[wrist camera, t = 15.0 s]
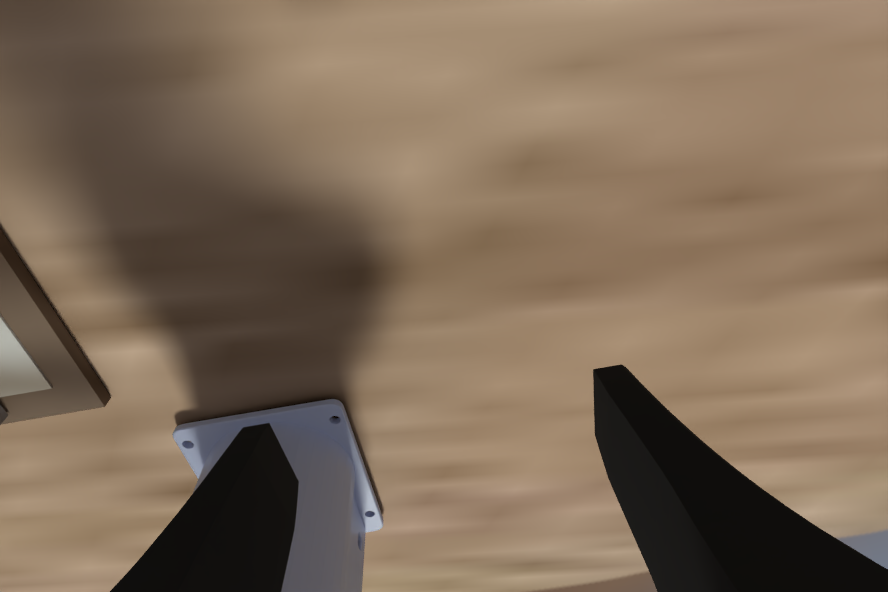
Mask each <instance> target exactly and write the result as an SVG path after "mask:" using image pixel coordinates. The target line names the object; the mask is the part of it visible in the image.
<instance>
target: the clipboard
mask: <svg viewBox="0 0 888 592" xmlns="http://www.w3.org/2000/svg"><path fill="white" fill-rule="evenodd" d="M110 398H111V397H110V395H109V394H108V392H107V391H106V389H105V387H104V386H103V384H102V383H101V381H100V380H99V378H98V377H97V375H96V374H95V372H94V371H93V369H92V368H91V366H90V365H89V363H88V362H87V360H86V359H85V357H84V356H83V354H82V352H81V351H80V349H79V348H78V346H77V345H76V343H75V342H74V340H73V339H72V337H71V336H70V334H69V333H68V331H67V330H66V328H65V327H64V325H63V324H62V322H61V321H60V319H59V317H58V316H57V314H56V313H55V311H54V310H53V308H52V307H51V305H50V304H49V302H48V301H47V299H46V298H45V296H44V295H43V293H42V292H41V290H40V289H39V287H38V285H37V284H36V282H35V281H34V279H33V278H32V276H31V275H30V273H29V272H28V270H27V269H26V267H25V266H24V264H23V263H22V261H21V260H20V258H19V257H18V255H17V254H16V252H15V250H14V249H13V247H12V246H11V244H10V243H9V241H8V240H7V238H6V237H5V235H4V234H3V232H2V231H1V229H0V425H1V424H6V423H12V422H18V421H24V420H30V419H36V418H42V417H48V416H53V415H59V414H65V413H71V412H77V411H83V410H89V409H95V408H101V407H105V406H106V404H107V403H108V401H109V400H110Z"/></svg>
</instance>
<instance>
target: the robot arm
mask: <svg viewBox="0 0 888 592" xmlns="http://www.w3.org/2000/svg"><path fill="white" fill-rule="evenodd" d="M593 378H594V417H595V436H596V440H597V443H598V446H599V449H600V453H601V456H602V459H603V462H604V466H605V469H606V472H607V475H608V478H609V480H610V483H611V485H612V487H613V490H614V492H615V494H616V497H617V499H618V501H619V504H620V506H621V508H622V510H623V513H624V515H625V517H626V520H627V522H628V524H629V526H630V529H631V531H632V533H633V535H634V538H635V540H636V542H637V544H638V547H639V549H640V551H641V554H642V556H643V558H644V560H645V563H646V565H647V567H648V569H649V572H650V574H651V576H652V579H653V581H654V583H655V586H656V589H657V591H658V592H888V569H886V568H884V567H882V566H880V565H879V564H877V563H875V562H874V561H872V560H871V559H869V558H867V557H866V556H864V555H862V554H861V553H859V552H857V551H856V550H854V549H852V548H851V547H849V546H848V545H846V544H844V543H843V542H841V541H839V540H838V539H836V538H834V537H833V536H831V535H830V534H828V533H826V532H825V531H823V530H821V529H820V528H818V527H817V526H815V525H814V524H812V523H811V522H809V521H808V520H806V519H805V518H803V517H802V516H800V515H799V514H797V513H796V512H794V511H793V510H791V509H790V508H788V507H787V506H785V505H784V504H783V503H781V502H780V501H778V500H777V499H776V498H774V497H773V496H771V495H770V494H769V493H767V492H766V491H764V490H763V489H762V488H760V487H759V486H758V485H756V484H755V483H754V482H752V481H751V480H750V479H748V478H747V477H746V476H744V475H743V474H742V473H741V472H739V471H738V470H737V469H735V468H734V467H733V466H732V465H730V464H729V463H728V462H727V461H726V460H724V459H723V458H722V457H721V456H719V455H718V454H717V453H716V452H714V451H713V450H712V449H711V448H710V447H709V446H707V445H706V444H705V443H704V442H703V441H702V440H700V439H699V438H698V437H697V436H696V435H695V434H694V433H693V432H692V431H690V430H689V429H688V428H687V427H686V426H685V425H684V424H683V423H682V422H680V421H679V420H678V419H677V418H676V417H675V416H674V415H673V414H672V413H671V412H670V411H669V410H667V409H666V408H665V407H664V406H663V405H662V404H661V403H660V402H659V401H658V400H657V399H656V398H655V397H654V396H653V395H652V394H651V393H650V392H649V391H648V390H647V389H646V388H645V387H644V386H643V385H642V384H641V383H640V382H639V381H638V380H637V378H636V377H635V376H634V375H633V374H632V373H631V372H630V371H629V370H628V369H627V368H626V367H624V366H623V365H616V366H610V367H604V368H598V369H593ZM332 416H338V417H339V418H333V417H332ZM173 438H174V440H175V441H176V443H177V445H178V446H179V448H180V450H181V451H182V453H183V455H184V456H185V458H186V460H187V461H188V463H189V465H190V466H191V468H192V469H193V471H194V473H195V474H196V476H197V478H198V481H197V484H196V486H195V489H194V491H193V494H192V495H191V497H190V498H189V499H188V501H187V502H186V503H185V505H184V506H183V507H182V508H181V510H180V511H179V512H178V514H177V515H176V516H175V517H174V518H173V520H172V521H171V522H170V523H169V524H168V526H167V527H166V528H165V529H164V530H163V532H162V533H161V534H160V535H159V536H158V538H157V539H156V540H155V541H154V542H153V544H152V545H151V546H150V547H149V549H148V550H147V551H146V552H145V553H144V555H143V556H142V557H141V558H140V559H139V560H138V561H137V563H136V564H135V565H134V566H133V567H132V568H131V569H130V570H129V572H128V573H127V574H126V575H125V576H124V577H123V578H122V579H121V580H120V581H119V582H118V584H117V585H116V586H115V587H114V588H113V589H112V590H111V591H110V592H362V579H363V563H364V547H365V532H371V531H376V530H379V529H381V528H382V527H383V516H382V513H381V511H380V508H379V505H378V502H377V499H376V496H375V494H374V491H373V488H372V485H371V482H370V479H369V476H368V474H367V471H366V468H365V465H364V462H363V459H362V457H361V454H360V451H359V448H358V445H357V442H356V439H355V437H354V434H353V431H352V428H351V425H350V422H349V420H348V417H347V414H346V411H345V408H344V405H343V404H342V402H340V401H339V400H336V399H328V400H322V401H316V402H310V403H304V404H298V405H292V406H286V407H280V408H274V409H268V410H262V411H257V412H251V413H245V414H239V415H233V416H227V417H221V418H215V419H209V420H203V421H197V422H191V423H185V424H181V425H178V426H177V427H176V428H175V430H174V432H173ZM188 441H191V442H188Z"/></svg>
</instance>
